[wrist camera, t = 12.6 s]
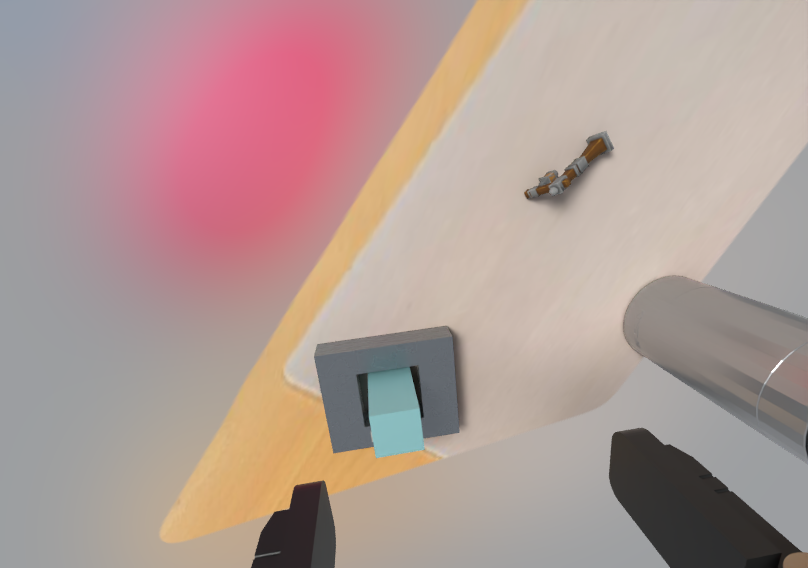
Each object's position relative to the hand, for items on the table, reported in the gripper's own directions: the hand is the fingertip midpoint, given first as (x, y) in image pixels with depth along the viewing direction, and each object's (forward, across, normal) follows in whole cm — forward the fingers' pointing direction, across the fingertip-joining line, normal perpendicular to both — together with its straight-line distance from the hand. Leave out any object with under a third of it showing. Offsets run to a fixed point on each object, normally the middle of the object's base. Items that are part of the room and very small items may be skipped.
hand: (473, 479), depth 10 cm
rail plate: (+26, +2, +13) cm, 29 cm away
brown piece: (+26, -16, -6) cm, 32 cm away
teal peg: (+26, +2, +13) cm, 29 cm away
